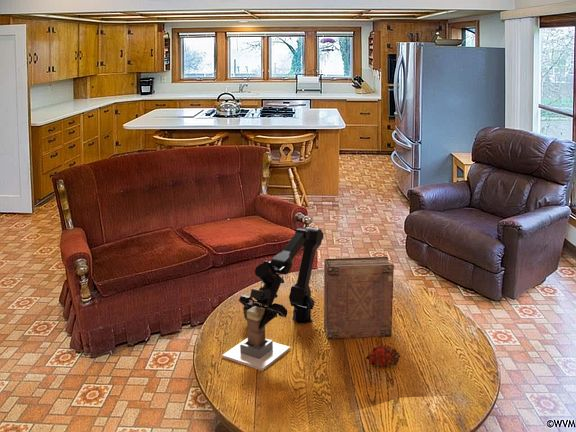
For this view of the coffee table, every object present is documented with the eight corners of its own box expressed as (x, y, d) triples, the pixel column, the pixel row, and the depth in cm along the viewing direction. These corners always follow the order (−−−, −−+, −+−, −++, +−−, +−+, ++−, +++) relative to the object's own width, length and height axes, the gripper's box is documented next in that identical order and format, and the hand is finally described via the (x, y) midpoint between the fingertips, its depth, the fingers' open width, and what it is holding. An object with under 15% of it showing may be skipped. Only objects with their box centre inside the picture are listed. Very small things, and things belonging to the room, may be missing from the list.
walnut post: (255, 337, 220) (254, 306, 216) (265, 341, 217) (264, 308, 214) (247, 343, 216) (246, 310, 212) (258, 346, 214) (257, 313, 210)
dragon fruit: (402, 371, 208) (368, 375, 209) (398, 349, 213) (365, 353, 214) (402, 361, 201) (367, 365, 202) (398, 339, 206) (363, 343, 207)
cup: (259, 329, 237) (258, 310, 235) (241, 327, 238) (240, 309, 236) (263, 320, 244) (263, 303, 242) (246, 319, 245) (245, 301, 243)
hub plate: (251, 337, 230) (251, 327, 229) (290, 349, 221) (290, 338, 219) (222, 357, 215) (222, 346, 214) (262, 370, 206) (262, 359, 205)
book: (385, 326, 238) (388, 256, 230) (391, 336, 230) (394, 264, 221) (323, 328, 237) (324, 258, 228) (327, 339, 228) (327, 267, 220)
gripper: (240, 274, 218) (223, 313, 212) (282, 284, 209) (265, 325, 203) (253, 287, 227) (237, 324, 221) (294, 297, 217) (278, 336, 211)
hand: (254, 327), depth 214 cm, fingers closed on walnut post, 5 cm apart
